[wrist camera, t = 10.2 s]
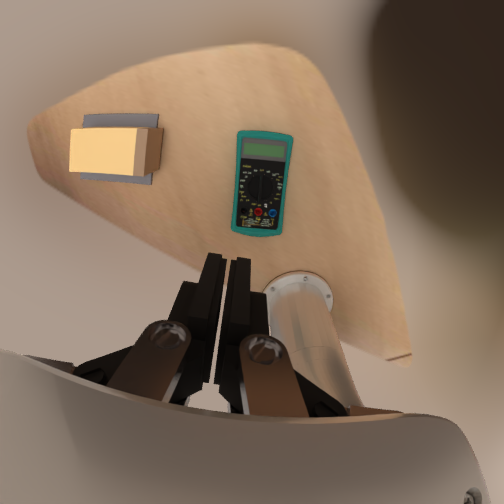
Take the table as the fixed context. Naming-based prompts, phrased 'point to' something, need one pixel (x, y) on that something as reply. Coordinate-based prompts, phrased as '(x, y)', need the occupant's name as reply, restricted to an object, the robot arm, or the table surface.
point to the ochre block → (116, 150)
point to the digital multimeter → (260, 182)
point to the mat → (120, 121)
